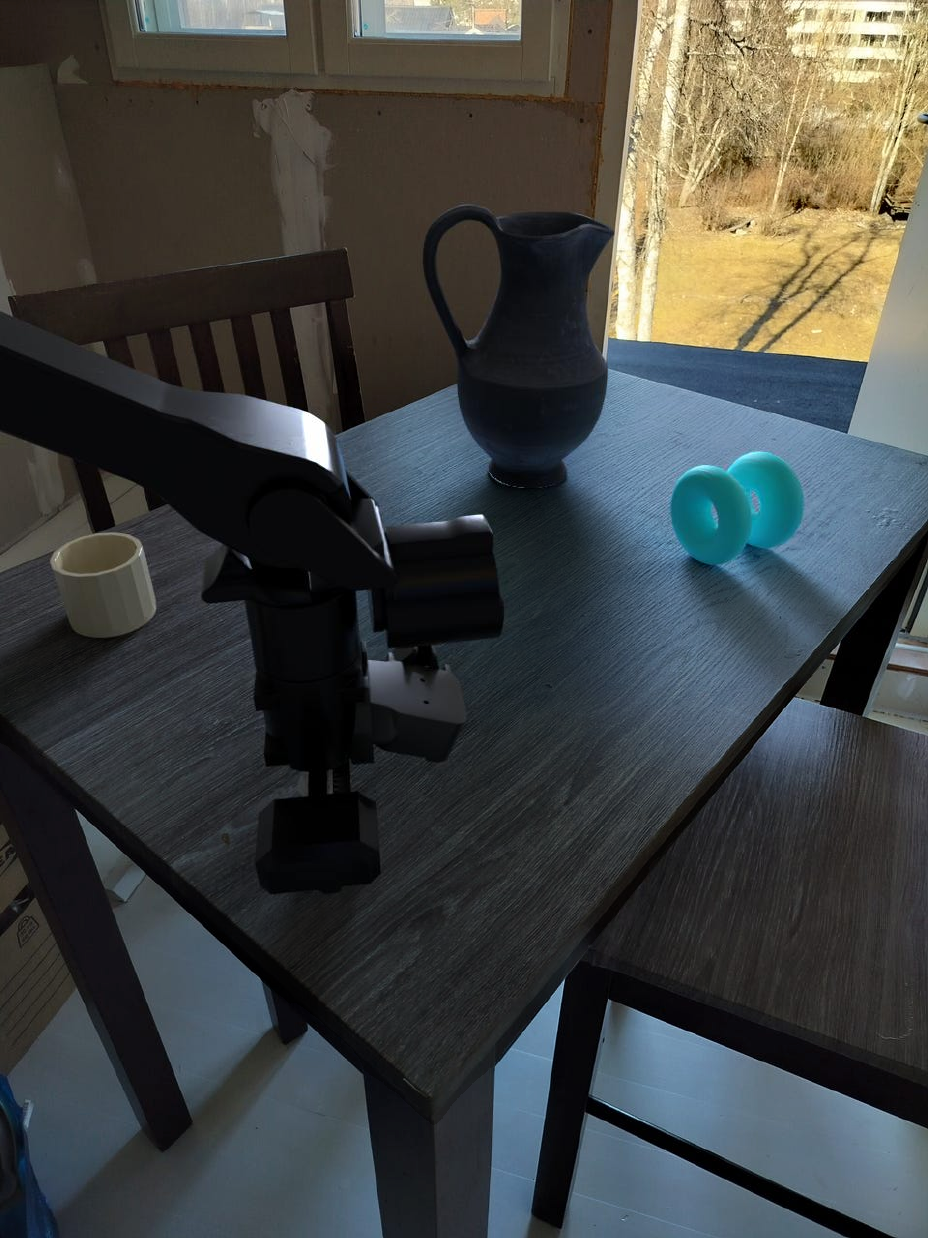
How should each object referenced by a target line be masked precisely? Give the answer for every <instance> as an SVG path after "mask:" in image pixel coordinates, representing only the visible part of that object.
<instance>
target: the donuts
mask: <svg viewBox="0 0 928 1238" xmlns="http://www.w3.org/2000/svg"><path fill="white" fill-rule="evenodd" d="M752 492H753V493H754V494H755V496H756V497H757V499H758V503H759V511H758V512H757V510H756V508H755V506H754V504H753V498H752ZM669 505H670V506H669V512H670V513H669V514H670V521H671V526H672V529H673V532H674V534H675V538H676V539H677V541H678V542H679V544H680V546H681V547H682V548H683V549H684V551H685V552H686V553H688V555H689V556H691V557H692V558H693V559H695V560H696V561H698V562H700V563H703V564H706V565H712V566H718V565H724V564H727V563H729V562H731V561H732V560H734V559H736V558H737V557H738V556H739V555H741V553H742V551H743V550H744V549H745V547H746V546H747V545H750V546H752V547H756V548H759V549H772V548H773V549H774V548H777V547H779V546H781V545H783V544H785V543H786V542H788V541H789V540H791V539H792V537H794V535H795V534H796V532H797V531H798V529H799V528H800V525H801V524H802V521H803V517H804V511H805V497H804V491H803V487H802V484H801V482H800V479H799V477H798V476H797V474H796V472H795V470H794V469H793V467H791V465H790V464H789V463H787V461H785V460H784V459H783V458H782V457H780V456H778V455H776V454H775V453H774V454H773V453H771V452H768V451H751V452H748V453H745V454H743V455H742V456H740V457H738V458H737V459H736V460H734V462H733V463H732V464H731V465H730V466H729V468H728V469H727V470H725V469H723V468H721V467H718V466H716V465H709V464H707V465H705V464H704V465H702V464H701V465H698V466H694V467H692V468H690V469H688V470H687V471H686V472H684V473H683V474H682V475H681V476H680V478H678V480H677V481H676V482H675V485H674V487H673V490H672V493H671V497H670V503H669ZM712 506H713V507H714V508H715V511H716V515H717V521H716V519H715V517H714V515H713V512H712V511H713V509H712Z"/></svg>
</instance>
